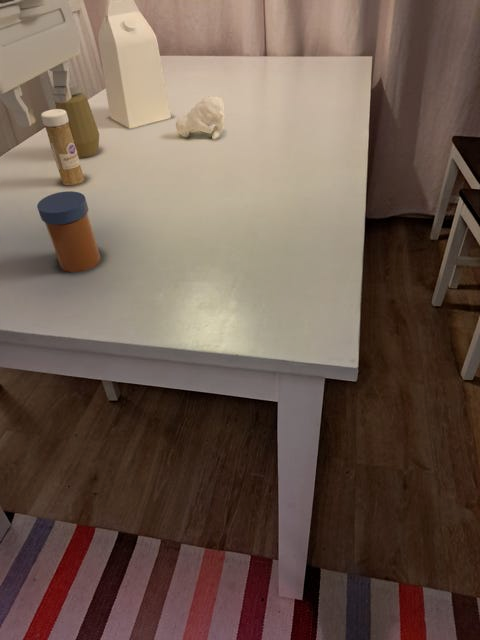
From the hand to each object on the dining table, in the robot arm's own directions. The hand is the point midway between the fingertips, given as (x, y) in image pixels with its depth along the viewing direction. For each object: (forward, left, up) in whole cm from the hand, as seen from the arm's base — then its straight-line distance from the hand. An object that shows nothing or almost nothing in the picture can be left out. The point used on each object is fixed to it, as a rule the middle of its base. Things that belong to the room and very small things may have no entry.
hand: (46, 112), depth 59 cm
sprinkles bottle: (-25, +16, -22) cm, 36 cm away
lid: (0, -2, -12) cm, 12 cm away
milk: (-42, +51, -22) cm, 69 cm away
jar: (0, -2, -21) cm, 21 cm away
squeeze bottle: (-35, +27, -22) cm, 49 cm away
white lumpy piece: (-19, +49, -22) cm, 57 cm away
